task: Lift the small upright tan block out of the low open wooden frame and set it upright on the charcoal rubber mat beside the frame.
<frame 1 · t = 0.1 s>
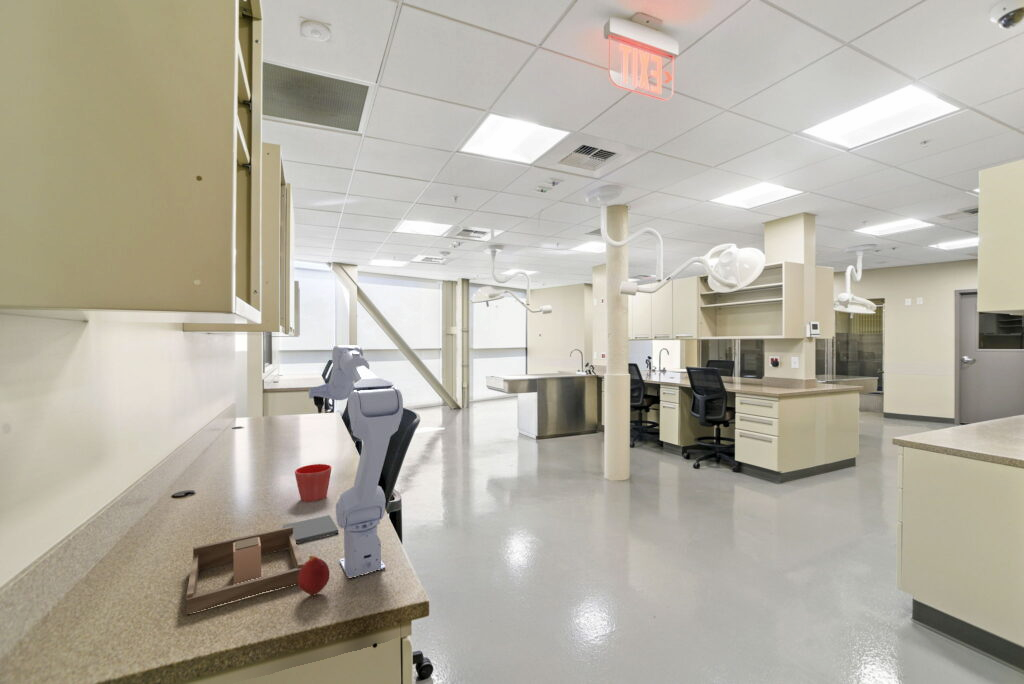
hand: (334, 408, 123), 32 cm above the counter, tool tilted 50°, fingers open, 7 cm apart
open wooden frame: (247, 575, 95), on the counter
onion: (314, 595, 88), on the counter
upright tan block: (247, 576, 95), resting in open wooden frame
rubber mat: (310, 531, 117), on the counter
flower pot: (313, 498, 143), on the counter
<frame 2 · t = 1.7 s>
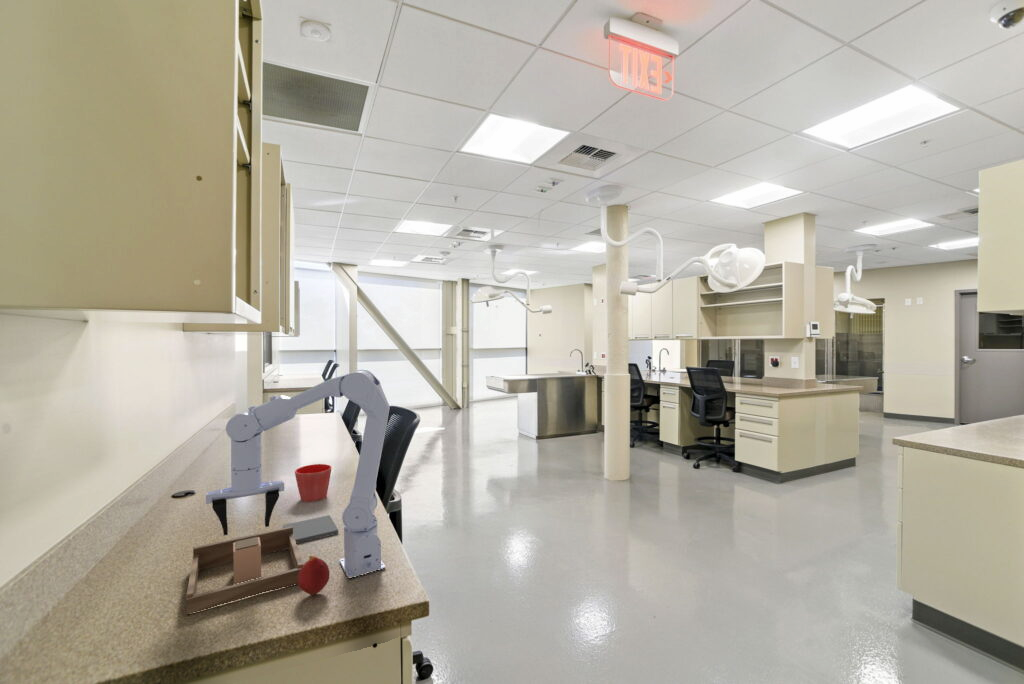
hand: (246, 529, 95), 10 cm above the counter, tool pointing down, fingers open, 7 cm apart
nothing on the counter moved.
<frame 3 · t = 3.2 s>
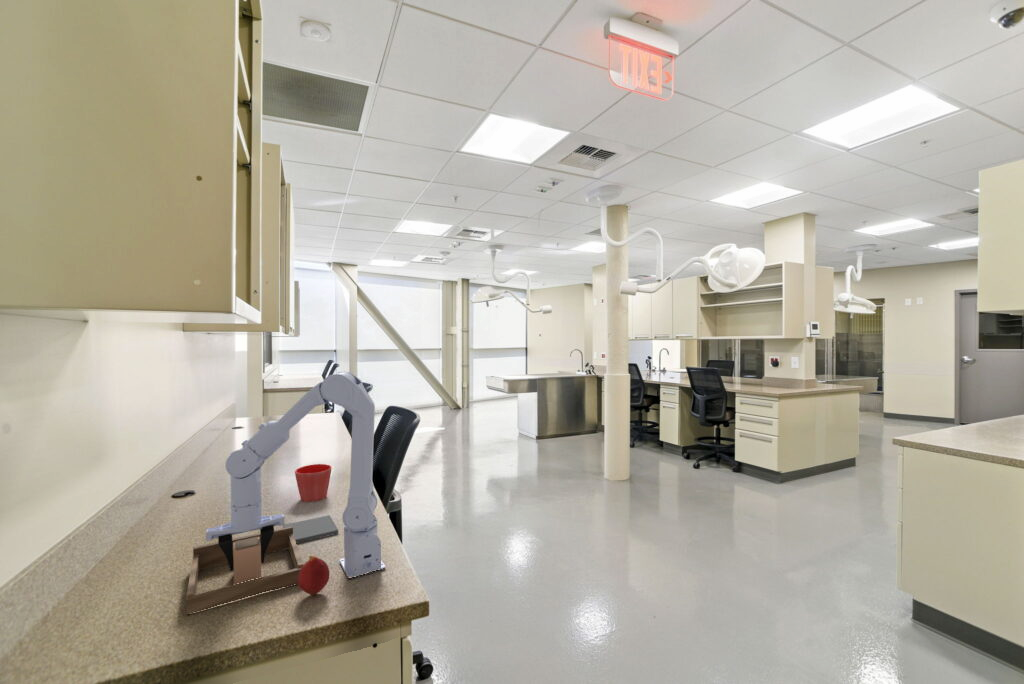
hand: (247, 564, 95), 2 cm above the counter, tool pointing down, fingers closed on upright tan block, 5 cm apart
upright tan block: (247, 576, 95), resting in open wooden frame, touching gripper
everything else where it was.
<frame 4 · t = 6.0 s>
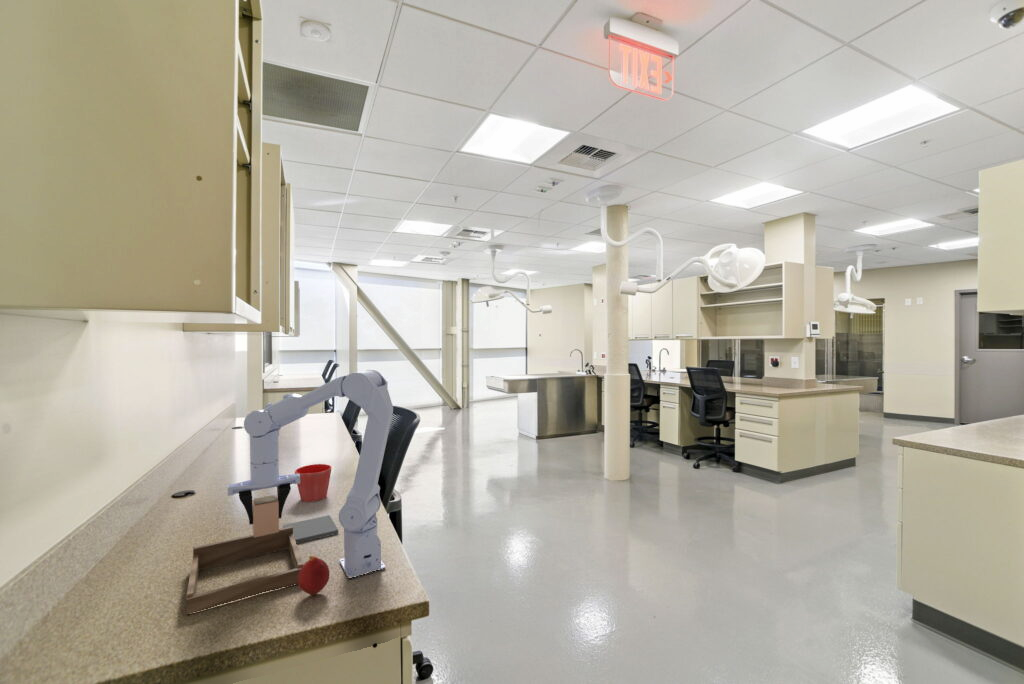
hand: (265, 519, 101), 10 cm above the counter, tool pointing down, fingers closed on upright tan block, 5 cm apart
upright tan block: (265, 530, 101), point 7 cm above the counter, touching gripper
everything else where it was.
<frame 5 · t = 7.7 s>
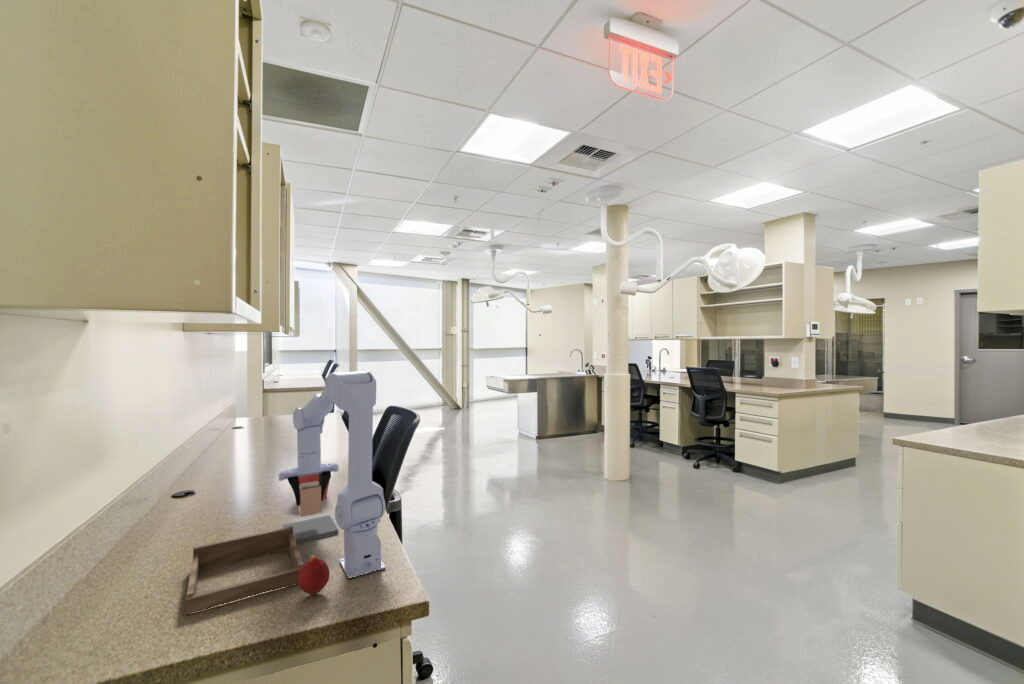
hand: (309, 502, 117), 8 cm above the counter, tool pointing down, fingers closed on upright tan block, 5 cm apart
upright tan block: (309, 511, 117), point 5 cm above the counter, touching gripper
everything else where it was.
when the fingers open (5 cm above the counter, at t = 9.1 s): upright tan block drops 1 cm, resting on rubber mat.
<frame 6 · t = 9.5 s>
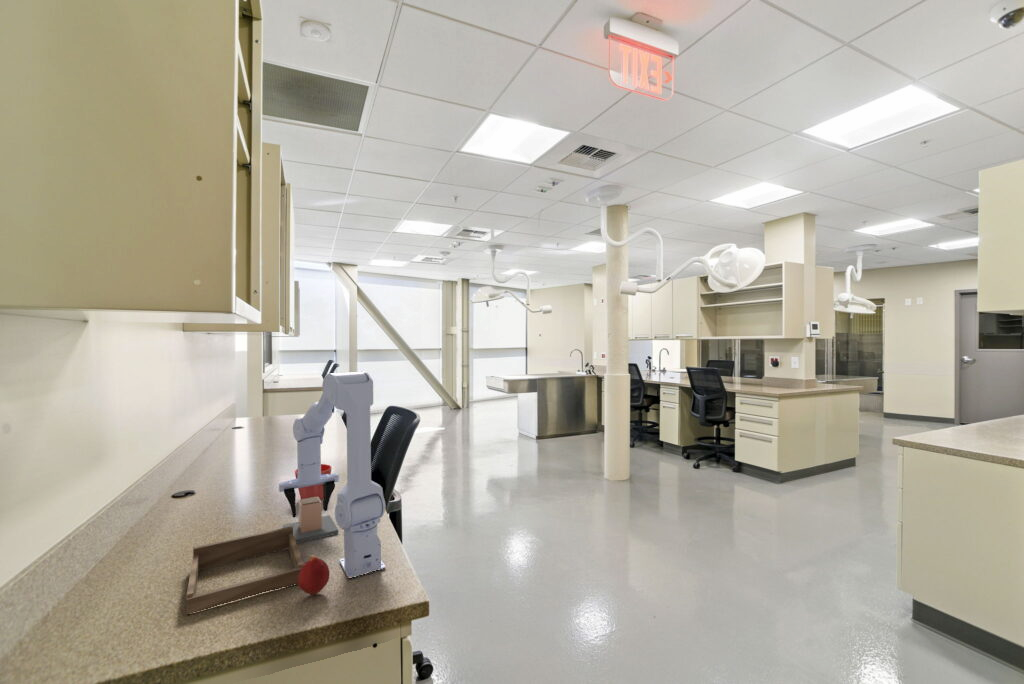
hand: (309, 512, 117), 5 cm above the counter, tool pointing down, fingers open, 7 cm apart
upright tan block: (310, 527, 117), point 1 cm above the counter, touching rubber mat
everything else where it was.
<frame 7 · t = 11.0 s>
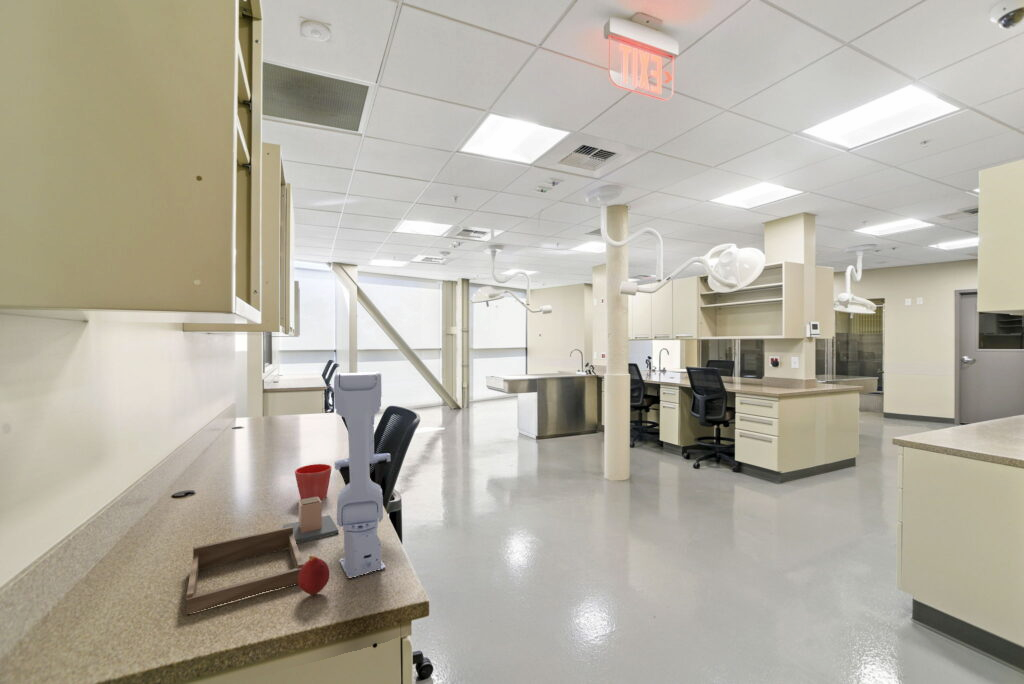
hand: (363, 491, 119), 10 cm above the counter, tool pointing down, fingers open, 7 cm apart
nothing on the counter moved.
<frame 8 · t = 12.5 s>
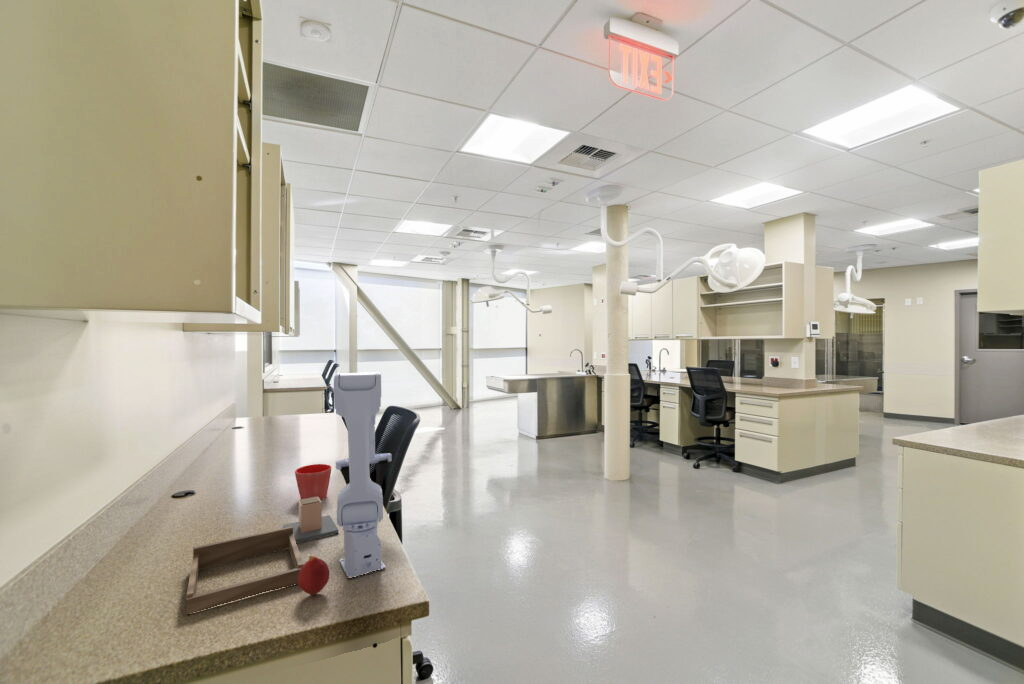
hand: (364, 491, 120), 10 cm above the counter, tool pointing down, fingers open, 7 cm apart
nothing on the counter moved.
at the end: upright tan block inside the target area on the rubber mat (0.0 cm from its centre), point 1.0 cm above the rubber mat's base; upright tan block tilted 0°; the gripper is holding nothing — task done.
